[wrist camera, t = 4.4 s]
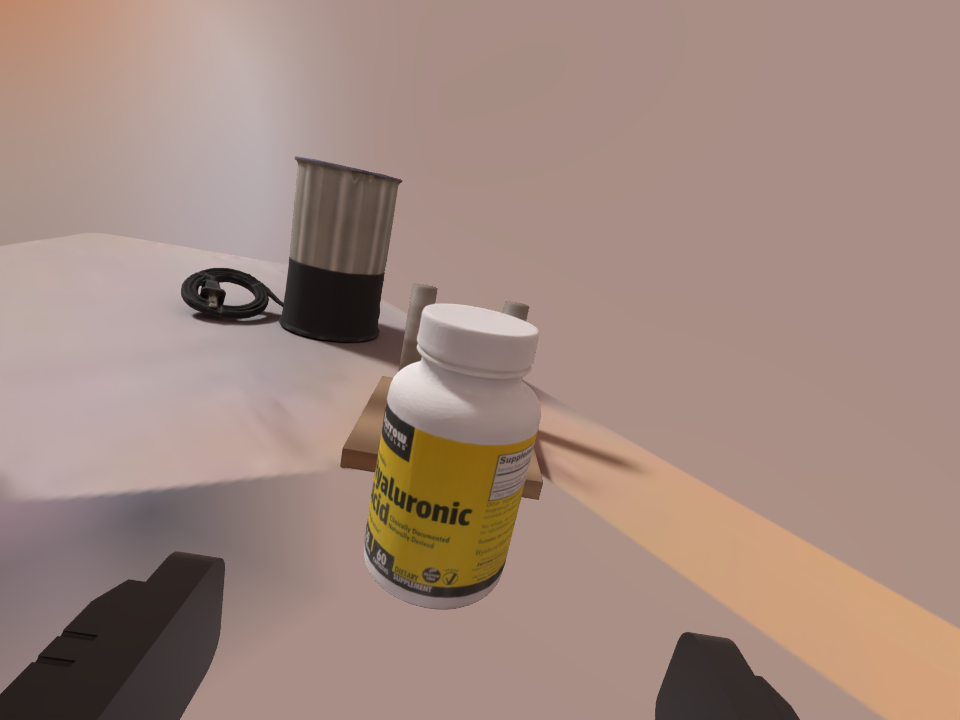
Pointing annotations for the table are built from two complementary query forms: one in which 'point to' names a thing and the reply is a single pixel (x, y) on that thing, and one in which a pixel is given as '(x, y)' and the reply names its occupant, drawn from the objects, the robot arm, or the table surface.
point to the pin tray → (368, 428)
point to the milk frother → (321, 257)
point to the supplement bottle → (453, 458)
